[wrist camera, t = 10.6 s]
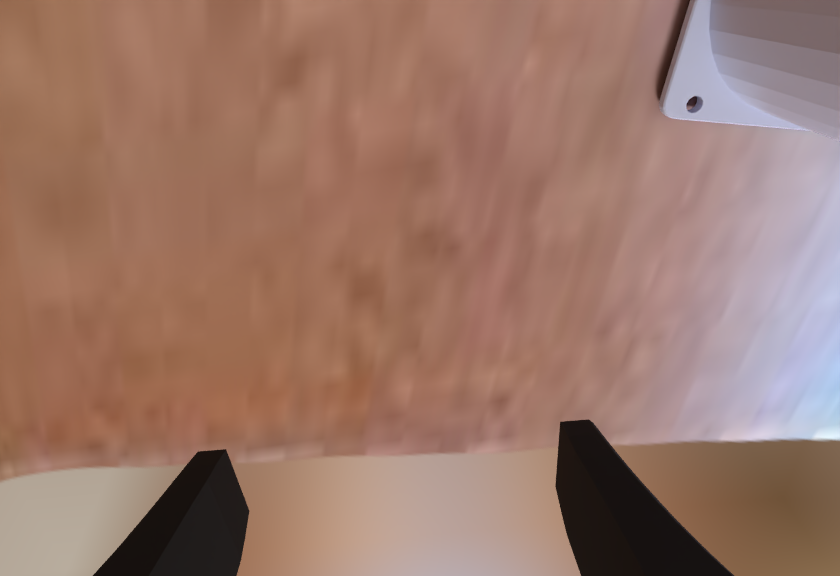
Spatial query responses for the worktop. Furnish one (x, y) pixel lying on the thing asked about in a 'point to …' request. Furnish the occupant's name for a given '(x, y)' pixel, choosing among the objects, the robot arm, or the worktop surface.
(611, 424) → the worktop surface
